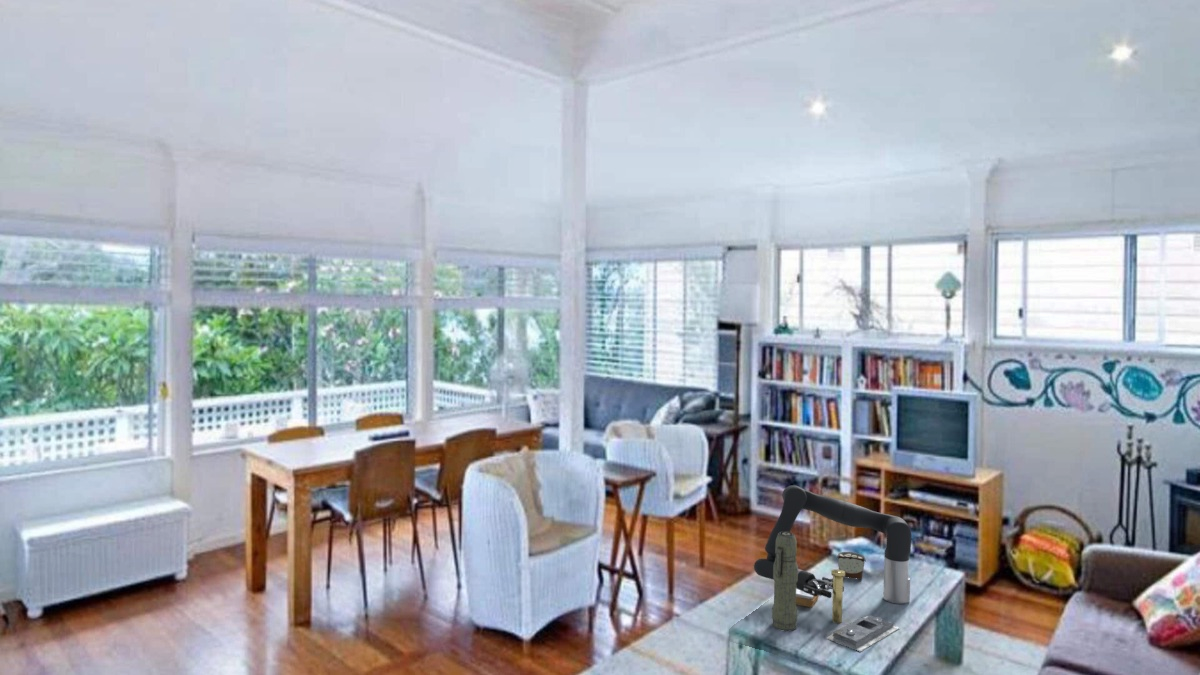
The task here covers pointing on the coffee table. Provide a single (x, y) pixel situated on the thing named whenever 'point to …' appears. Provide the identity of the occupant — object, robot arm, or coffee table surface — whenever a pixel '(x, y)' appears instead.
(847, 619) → the coffee table surface
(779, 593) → the thermos
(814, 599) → the soap dish
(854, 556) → the food container
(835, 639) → the bolted mounting plate
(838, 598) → the brass pin
